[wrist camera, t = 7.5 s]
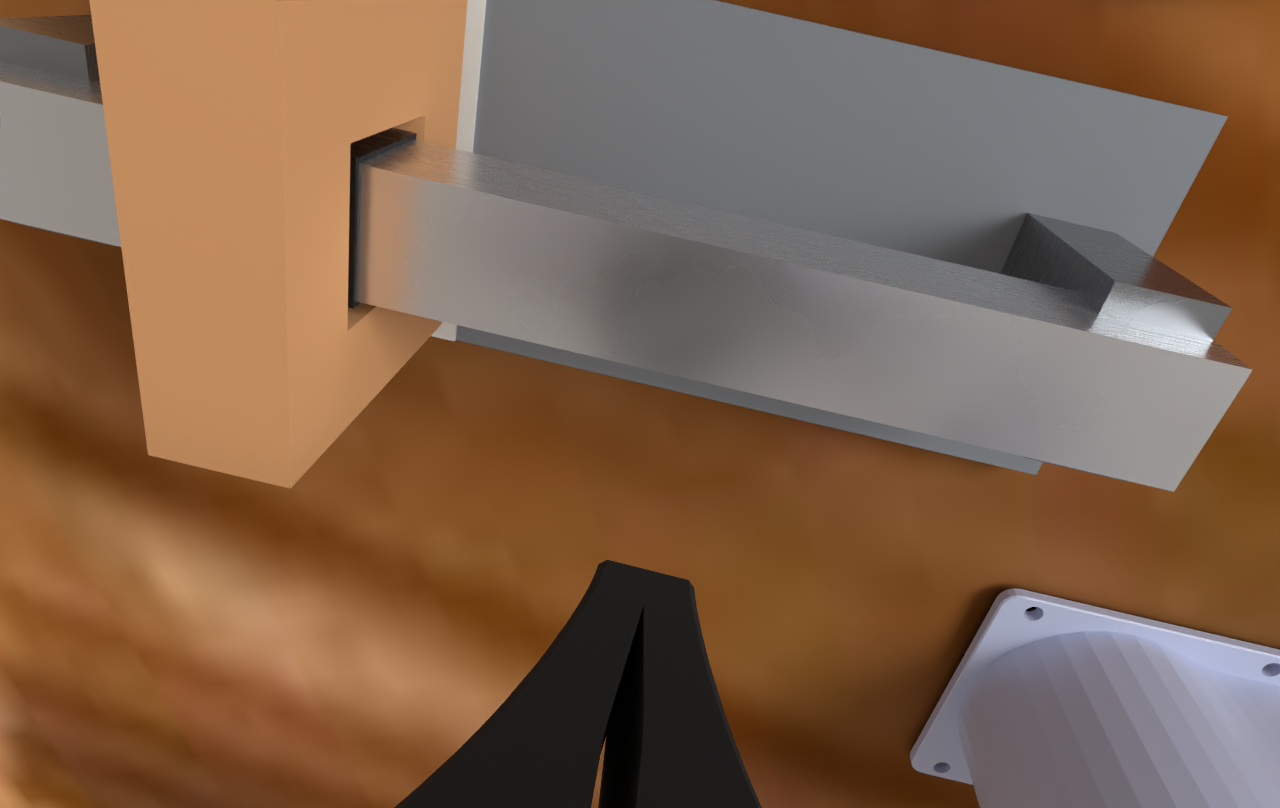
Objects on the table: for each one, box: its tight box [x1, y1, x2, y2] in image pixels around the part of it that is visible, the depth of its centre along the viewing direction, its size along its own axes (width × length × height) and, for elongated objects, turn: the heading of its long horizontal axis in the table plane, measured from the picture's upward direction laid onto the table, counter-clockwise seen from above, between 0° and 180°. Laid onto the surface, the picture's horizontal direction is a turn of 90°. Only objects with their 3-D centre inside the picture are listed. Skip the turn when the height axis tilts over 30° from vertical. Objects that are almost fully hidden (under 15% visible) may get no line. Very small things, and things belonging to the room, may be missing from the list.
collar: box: [89, 0, 468, 489], centre depth 14 cm, size 2×7×7 cm, turn 169°
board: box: [431, 0, 1227, 475], centre depth 19 cm, size 24×9×1 cm, turn 79°
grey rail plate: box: [0, 15, 1252, 492], centre depth 16 cm, size 22×4×6 cm, turn 79°
